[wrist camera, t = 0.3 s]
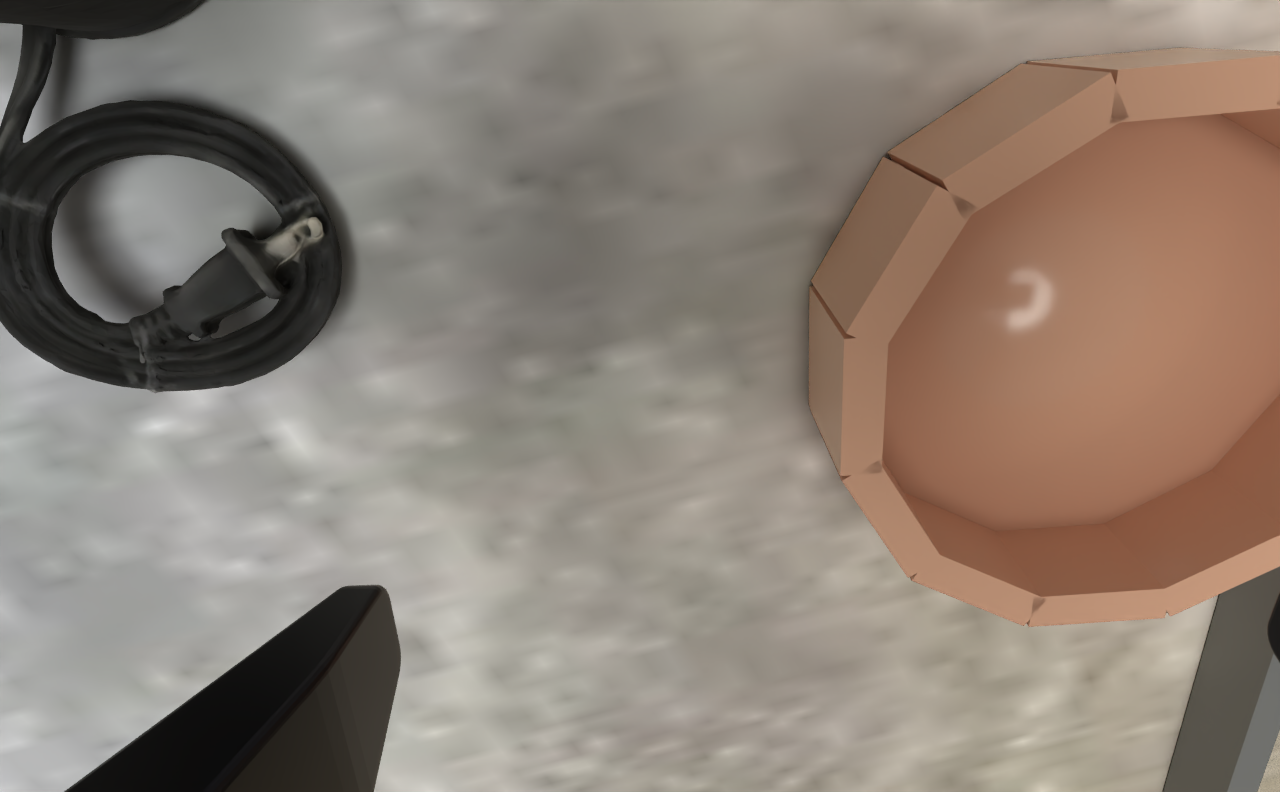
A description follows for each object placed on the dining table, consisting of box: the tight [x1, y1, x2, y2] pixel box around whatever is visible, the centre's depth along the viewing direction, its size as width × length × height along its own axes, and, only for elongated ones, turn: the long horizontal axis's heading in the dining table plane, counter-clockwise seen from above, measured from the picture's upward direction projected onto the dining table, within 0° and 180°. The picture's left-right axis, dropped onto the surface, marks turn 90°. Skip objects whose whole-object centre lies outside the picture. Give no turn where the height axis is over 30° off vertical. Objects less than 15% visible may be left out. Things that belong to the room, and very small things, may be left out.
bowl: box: [809, 48, 1280, 627], centre depth 20 cm, size 14×14×4 cm
